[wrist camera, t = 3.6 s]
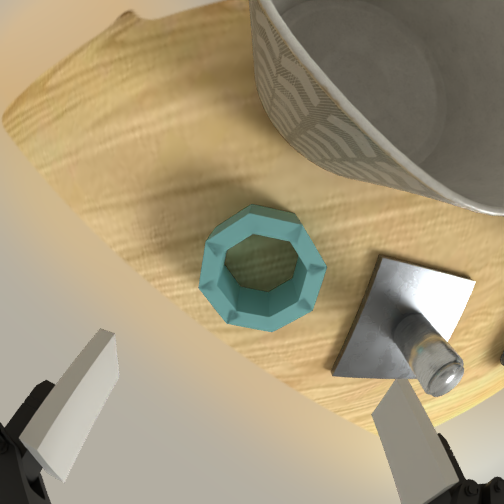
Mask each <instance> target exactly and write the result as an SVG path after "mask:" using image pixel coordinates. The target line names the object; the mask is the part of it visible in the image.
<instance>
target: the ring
mask: <svg viewBox="0 0 504 504" xmlns="http://www.w3.org/2000/svg"><path fill="white" fill-rule="evenodd" d="M252 234H257V235H262V236H266V237H271V238H276V239H280V240H285V241H289V242H291V244H292V246H293V247H294V249H295V250H296V252H297V254H298V255H299V256H298V260H297V263H296V267H295V270H294V274H293V277H292V279H290V280H288V281H287V282H285V283H283V284H281V285H280V286H278V287H276V288H274V289H273V290H271V291H269V292H265V291H260V290H255V289H250V288H245V287H241V286H240V285H239V284H238V282H237V281H236V280H235V278H234V277H233V276H232V274H231V273H230V271H229V270H228V269H227V267H226V266H225V265H224V263H225V258H226V253H227V250H228V249H230V248H231V247H233V246H235V245H236V244H238V243H239V242H241V241H243V240H244V239H246V238H247V237H249V236H251V235H252ZM326 269H327V266H326V264H325V263H324V261H323V259H322V257H321V256H320V254H319V252H318V251H317V249H316V247H315V245H314V244H313V242H312V240H311V239H310V237H309V235H308V234H307V232H306V230H305V229H304V227H303V225H302V223H301V222H300V220H299V219H298V217H297V216H296V215H295V213H290V212H286V211H281V210H277V209H272V208H268V207H263V206H259V205H254V204H251V205H249V206H248V207H246V208H244V209H243V210H241V211H240V212H238V213H237V214H235V215H234V216H232V217H231V218H229V219H227V220H226V221H224V222H223V223H221V224H220V225H218V226H217V227H215V229H214V230H213V232H212V233H211V234H210V236H209V237H208V239H207V240H206V243H205V249H204V256H203V262H202V268H201V275H200V282H199V287H198V288H199V289H200V291H201V292H202V293H203V294H204V296H205V297H206V298H207V300H208V301H209V302H210V303H211V305H212V306H213V307H214V308H215V310H216V311H217V312H218V313H219V315H220V316H221V317H222V318H223V320H224V321H225V322H226V323H227V324H232V325H237V326H242V327H247V328H252V329H257V330H263V331H268V332H273V331H275V330H277V329H279V328H281V327H283V326H285V325H287V324H289V323H291V322H293V321H294V320H296V319H298V318H300V317H302V316H304V315H305V314H307V313H309V312H311V311H313V308H314V305H315V302H316V299H317V296H318V293H319V290H320V287H321V284H322V281H323V278H324V275H325V272H326Z"/></svg>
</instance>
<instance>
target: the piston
mask: <svg viewBox="0 0 504 504" xmlns="http://www.w3.org/2000/svg"><path fill="white" fill-rule="evenodd" d="M474 285H475V281H474V280H472V279H470V278H466V277H463V276H459V275H456V274H452V273H448V272H445V271H441V270H437V269H433V268H430V267H426V266H422V265H418V264H414V263H411V262H407V261H403V260H399V259H395V258H391V257H387V256H383V255H379V256H378V259H377V262H376V265H375V268H374V271H373V274H372V276H371V279H370V282H369V285H368V287H367V290H366V293H365V295H364V298H363V300H362V303H361V305H360V308H359V310H358V313H357V315H356V317H355V320H354V322H353V324H352V327H351V329H350V331H349V334H348V336H347V338H346V340H345V342H344V345H343V347H342V349H341V351H340V353H339V355H338V357H337V359H336V361H335V364H334V366H333V368H332V370H331V373H332V376H338V377H353V378H377V379H418V381H419V382H420V384H421V386H422V387H423V389H424V391H425V392H426V393H427V394H430V395H432V396H434V397H438V396H442V395H444V394H446V393H448V392H449V391H450V390H452V389H453V388H454V387H455V386H456V385H457V384H458V383H459V381H460V380H461V378H462V376H463V374H464V368H463V360H462V359H461V357H460V356H459V355H458V354H457V353H456V351H455V350H454V349H453V348H452V347H451V345H450V344H449V343H448V342H447V341H448V339H449V338H450V336H451V334H452V332H453V330H454V328H455V326H456V324H457V322H458V320H459V318H460V316H461V314H462V312H463V310H464V308H465V305H466V303H467V301H468V299H469V296H470V294H471V292H472V289H473V287H474Z"/></svg>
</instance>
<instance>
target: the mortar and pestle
mask: <svg viewBox="0 0 504 504" xmlns="http://www.w3.org/2000/svg"><path fill="white" fill-rule="evenodd" d="M500 360H501V364H502V365H503V366H504V352H503V354H502V356H501V359H500Z"/></svg>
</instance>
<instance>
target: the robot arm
mask: <svg viewBox="0 0 504 504" xmlns="http://www.w3.org/2000/svg"><path fill="white" fill-rule="evenodd" d="M119 376H120V375H119V368H118V359H117V350H116V339H115V333H112V332H110V331H106V330H104V329H99V331H98V332H97V333H96V334H95V335H94V337H93V338H92V339H91V340H90V342H89V343H88V344H87V345H86V346H85V348H84V349H83V350H82V352H81V353H80V354H79V355H78V356H77V358H76V359H75V360H74V362H73V363H72V364H71V365H70V367H69V368H68V369H67V371H66V372H65V373H64V374H63V376H62V377H61V378H60V380H59V381H58V382H57V384H56V385H55V384H53V383H51V382H49V381H48V380H45V381H43V382H42V383H40V384H38V385H36V387H35V388H34V389H33V390H32V392H31V393H30V395H29V396H28V397H27V398H26V399H25V401H24V403H22V405H21V406H20V408H19V409H18V410H17V412H16V413H15V414H14V416H13V417H12V419H11V420H10V421H9V423H8V424H7V425H6V427H5V428H4V427H3V425H2V424H1V423H0V504H51V502H50V499H49V497H48V494H47V491H46V488H45V485H44V483H43V479H42V476H41V474H40V471H41V470H42V468H43V469H44V470H45V471H46V472H47V473H48V474H49V475H51V476H53V477H55V478H56V479H58V480H60V481H62V482H64V483H65V480H66V478H67V476H68V474H69V472H70V470H71V468H72V466H73V464H74V462H75V460H76V457H77V455H78V453H79V451H80V449H81V447H82V445H83V443H84V441H85V440H86V438H87V436H88V434H89V431H90V430H91V428H92V426H93V424H94V422H95V420H96V418H97V417H98V415H99V413H100V411H101V409H102V407H103V405H104V404H105V402H106V400H107V398H108V396H109V394H110V393H111V391H112V389H113V387H114V386H115V384H116V382H117V380H118V378H119ZM371 415H372V417H373V420H374V423H375V425H376V428H377V431H378V434H379V436H380V439H381V442H382V445H383V448H384V451H385V454H386V457H387V460H388V463H389V466H390V468H391V472H392V475H393V478H394V481H395V484H396V487H397V491H398V494H399V497H400V500H401V504H504V480H503V479H502V478H501V477H494V478H493V479H492V480H491V481H490V482H488V483H486V484H477V483H476V482H475V481H474V480H470V479H468V480H466V479H465V477H464V476H463V473H462V471H461V469H460V467H459V465H458V463H457V461H456V459H455V456H453V452H452V450H450V446H449V444H448V442H447V440H446V439H445V438H444V437H443V436H442V435H441V434H440V433H438V434H437V433H436V431H435V429H434V427H433V425H432V423H431V421H430V419H429V417H428V415H427V413H426V412H425V410H424V408H423V406H422V404H421V402H420V400H419V399H418V397H417V395H416V393H415V391H414V390H413V388H412V386H411V384H410V383H409V381H408V379H395V381H394V382H393V384H392V385H391V387H390V388H389V390H388V392H387V393H386V394H385V396H384V397H383V399H382V400H381V402H380V403H379V405H378V406H377V407H376V409H375V410H374V411H373V413H372V414H371Z"/></svg>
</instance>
